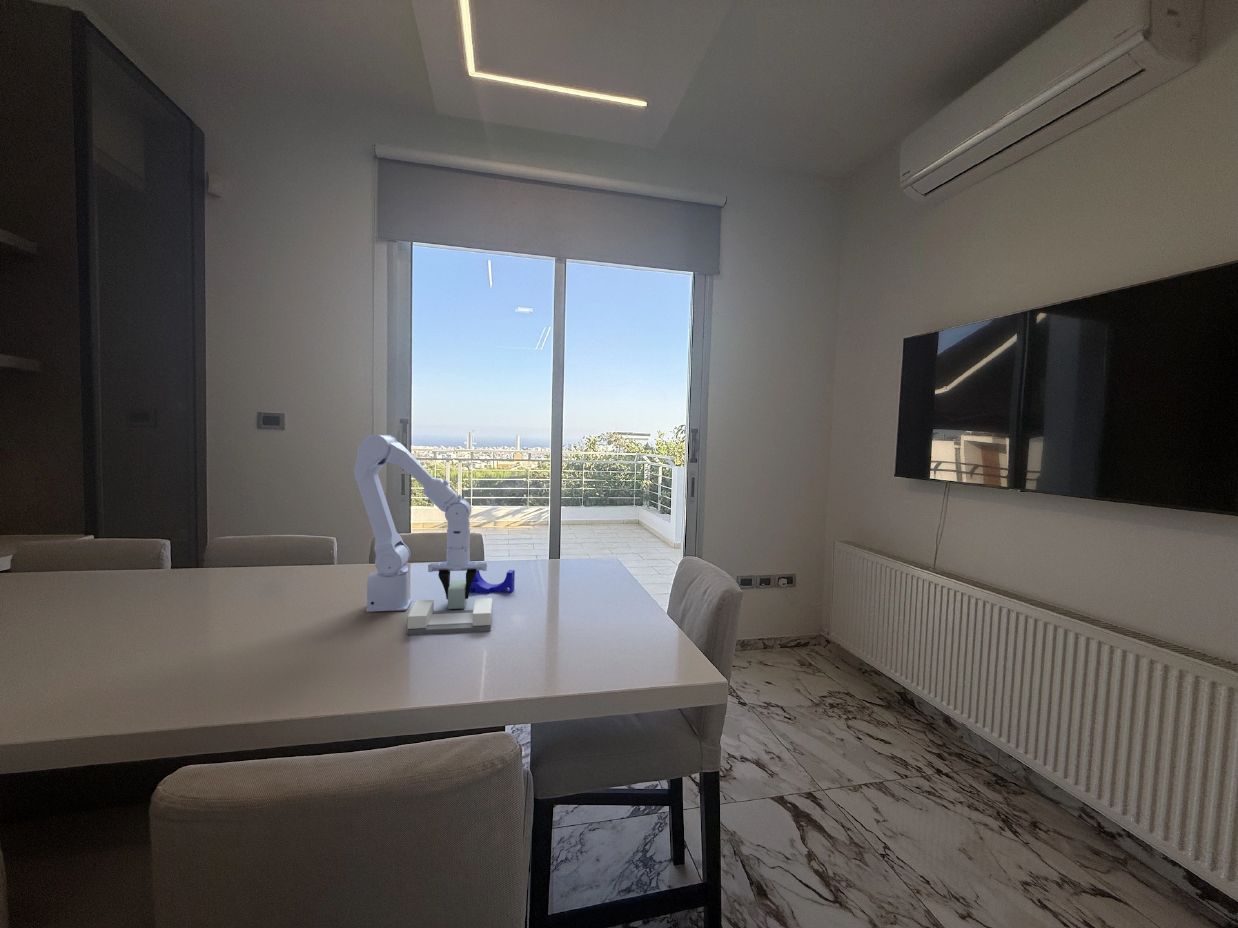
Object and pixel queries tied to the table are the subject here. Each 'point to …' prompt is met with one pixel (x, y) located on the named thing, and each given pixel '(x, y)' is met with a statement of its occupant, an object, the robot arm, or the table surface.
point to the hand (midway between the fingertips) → (457, 598)
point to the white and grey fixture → (449, 618)
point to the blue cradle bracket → (484, 587)
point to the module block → (456, 594)
